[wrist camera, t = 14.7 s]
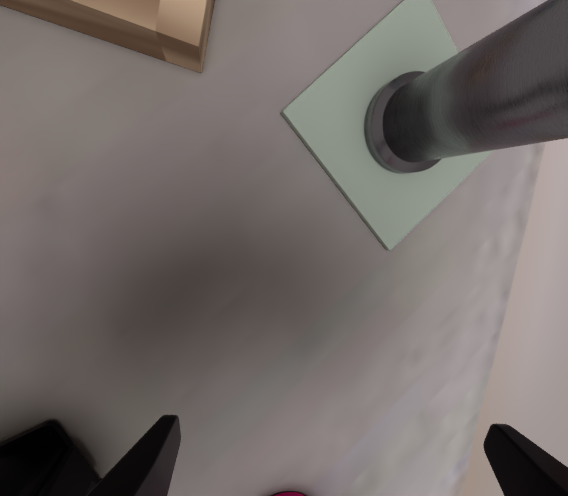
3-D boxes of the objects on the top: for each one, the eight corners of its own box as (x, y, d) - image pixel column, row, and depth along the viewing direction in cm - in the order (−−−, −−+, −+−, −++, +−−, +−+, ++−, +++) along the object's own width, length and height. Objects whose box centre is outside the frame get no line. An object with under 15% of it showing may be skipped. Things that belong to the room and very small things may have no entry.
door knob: (353, 159, 19) (601, 94, 7) (378, 64, 18) (709, -203, 6) (427, 183, 20) (734, 166, 8) (453, 97, 19) (834, -61, 7)
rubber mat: (386, 249, 21) (390, 251, 20) (280, 113, 17) (282, 110, 17) (498, 141, 21) (504, 140, 21) (417, -12, 18) (422, -18, 18)
